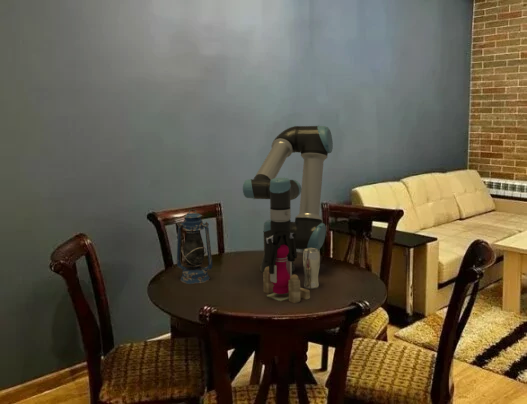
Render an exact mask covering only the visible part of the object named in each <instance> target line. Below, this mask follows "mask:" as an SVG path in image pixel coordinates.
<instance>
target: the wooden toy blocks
mask: <svg viewBox="0 0 527 404" xmlns="http://www.w3.org/2000/svg"><path fill="white" fill-rule="evenodd" d="M264 271H265V272H263V273H262V275H263V277H262V279H263V281H262V283H263V286H262V287H263V291H262V292H263V293H265V294H267V295H266V297H267V298H269V299H272V300H275V301H278V302H283V301H287V300H288V302H290V303H293V304H297V303H299V302H301V299H304V300H308V299H310V298H311V290H309V289H308V288H305V287H304V288H303V287H301V280H300V279H299V276H298V275H297V274H292V276H291V277H290V280H289V285H288V286H289V292H288V293H286V294H277V293H274V292H273V286H274V285H273V283H272V282H271V281H270V273H269V266H268V267H266V268H265V270H264Z"/></svg>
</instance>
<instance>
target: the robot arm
mask: <svg viewBox="0 0 527 404" xmlns="http://www.w3.org/2000/svg"><path fill="white" fill-rule="evenodd" d="M333 145H334V143H333V135H332V133H331V129H330V128H329V127H328V126H325V125H323V126H322V125H294V126H291V127H288V128H286V129H285V130H283V131H281V132H280V133H279V134H278V135H277V136H276V137H275V138H273V141H272V143H271V149H270V150H269V152H268V155H266V158H265V159H264V161H263V163H262V164H261V166H260V167H259V169H258V171H257V173H256V174H255V176H254V178H252V179H251V178H249V179H246V180H244V182H243V185H242V193H243V196H244V197H245V198H246V199H253V200H269V205H270V207H269V211H270V212H269V213H270V214H269V215H270V216H269V218H270V219H268V220H266V221H264V223H263V255H262V261H261V264H260V272H261V273H262V274H263V272H265V271H264V270H265V268H266V267H268V266H269V273H270V281H271V282H274V283H277V267H276V258H277V251H278V248H280V246H281V245H282V244H285V245H287V247H288V249H289V253H288V255H287V257H288V258H287V259H288V260H287V261H286V268H287V271H288V273H289V275H290V277H291V276H292V275H293V273H294V272H295V270H296V269H295V263H294V262H295V261H296V259H298V255H297V250H302V251H303V249H306V248H317V249H319V250H320V249H321V248H322V247H323V244H324V243H325V239H326V236H327V235H326V234H327V230H326V229H327V227H326V224H325V223H323V218H322V217H321V216H320V210H321V209H320V208H321V196H322V186H323V185H322V184H323V171H324V163H325V160H327V159H328V154H332V153H333V149H334V148H333ZM293 153H294V154H295V153H297V154H298V153H300V156H301V158H302V159H303V169H302V177H301V179H302V180H301V184H300V182H299V181H298V180H297V179H296V180H295V179H289V178H288V177H277V176H278V174H279V172H280V170H281V169H282V167H283V166H284V163H285V161H286V160H287V158H289V157H290V156H291V155H292V154H293ZM299 196H300V201H299V202H300V203H299V210H298V211H299V213H298V214H297V215H296V216H295V218H294V221H291V218H292V217H291V216H292V215H291V211H292V210H291V201H292V200H296V199H297V198H298V197H299Z"/></svg>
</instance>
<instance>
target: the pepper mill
mask: <svg viewBox="0 0 527 404" xmlns="http://www.w3.org/2000/svg"><path fill="white" fill-rule="evenodd" d="M288 253H289V249H288V247H287V245H285V244H282V245H281V246H280V248H278V251H277V258H276V267H277V283H274V282H272V283H273V285H274V286H273V293H277V294H286V293H288V292H289V286H288V285H289V280H290V275H289V273H288V271H287V268H286V261H287V260H288V259H287V258H288V257H287V255H288Z"/></svg>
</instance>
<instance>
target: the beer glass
mask: <svg viewBox="0 0 527 404" xmlns="http://www.w3.org/2000/svg"><path fill="white" fill-rule="evenodd" d="M320 266H321V253H320V249H317V248H306V249H303V250H302V268H303V269H302V270H303V273H304V274H303V275H304V282H303V287H304V289H308V290H309V289H313V290H314V289H318V288H319V287H320V284H319V273H320Z"/></svg>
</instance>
